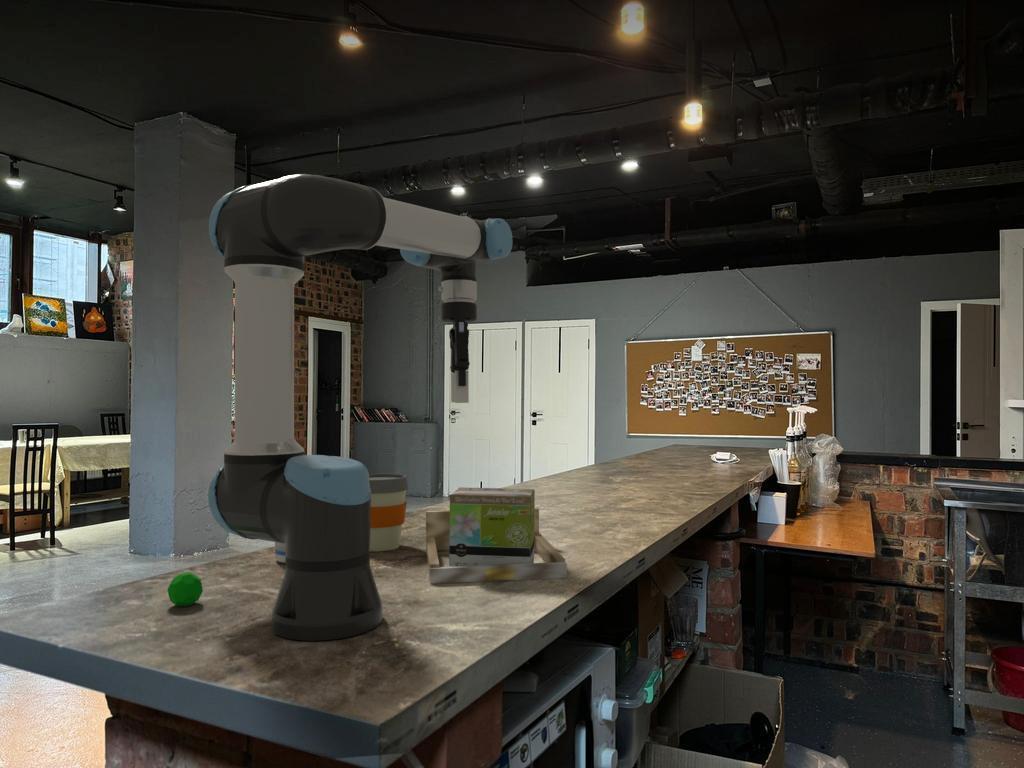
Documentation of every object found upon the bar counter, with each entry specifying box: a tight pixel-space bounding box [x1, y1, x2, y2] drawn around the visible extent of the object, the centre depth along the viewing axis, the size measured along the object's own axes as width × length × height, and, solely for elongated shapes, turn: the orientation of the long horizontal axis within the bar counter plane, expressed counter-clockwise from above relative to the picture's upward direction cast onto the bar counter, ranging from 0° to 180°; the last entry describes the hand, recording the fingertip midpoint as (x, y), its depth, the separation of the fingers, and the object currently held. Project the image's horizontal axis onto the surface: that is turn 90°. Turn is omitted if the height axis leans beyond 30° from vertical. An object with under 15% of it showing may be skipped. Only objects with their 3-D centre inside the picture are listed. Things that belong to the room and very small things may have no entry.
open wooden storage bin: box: [425, 507, 568, 585], centre depth 136 cm, size 24×28×8 cm
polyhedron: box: [167, 572, 204, 607], centre depth 109 cm, size 5×5×5 cm
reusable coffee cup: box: [369, 473, 409, 552], centre depth 151 cm, size 13×13×15 cm
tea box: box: [448, 486, 536, 567], centre depth 131 cm, size 15×10×15 cm
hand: (459, 402), depth 149 cm, fingers open, 13 cm apart
